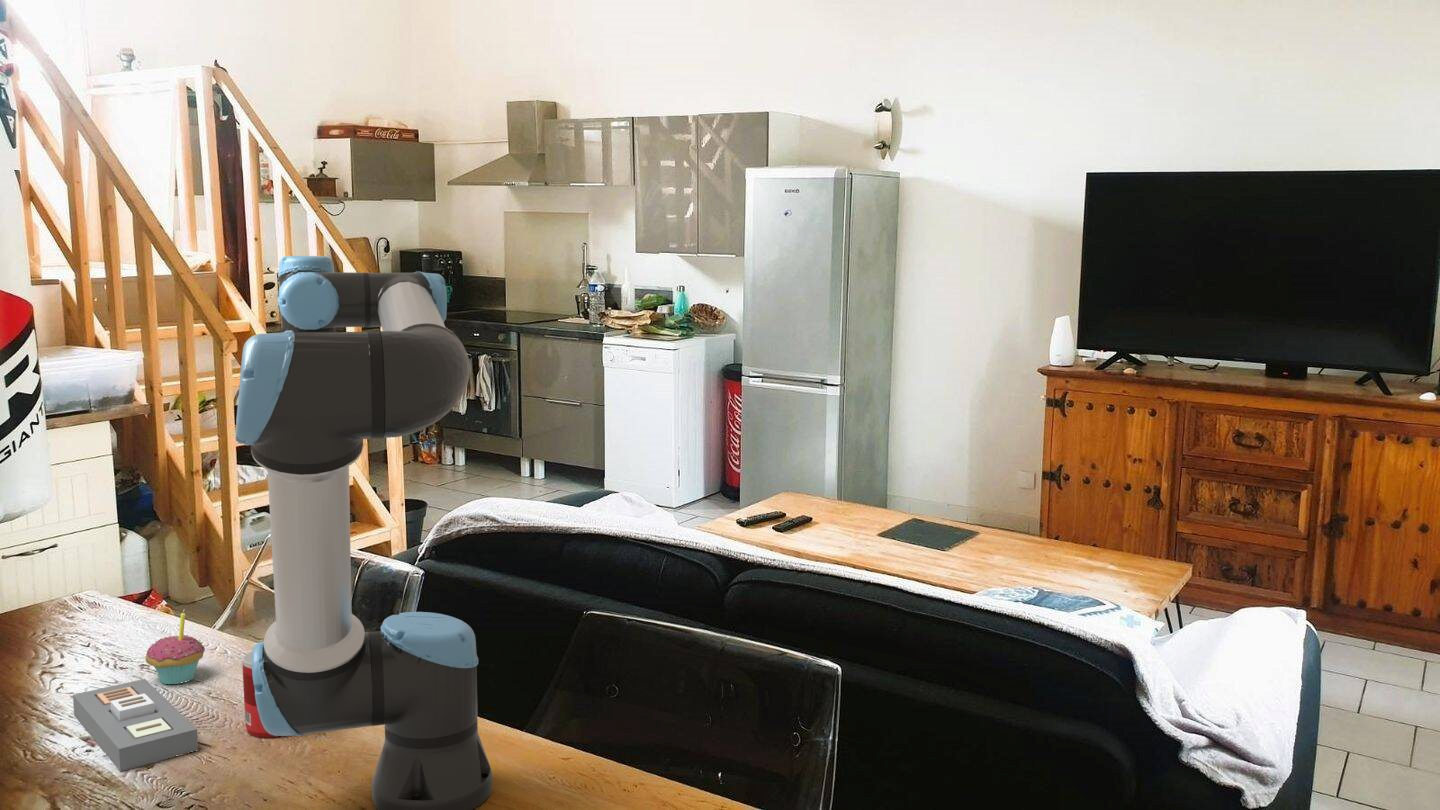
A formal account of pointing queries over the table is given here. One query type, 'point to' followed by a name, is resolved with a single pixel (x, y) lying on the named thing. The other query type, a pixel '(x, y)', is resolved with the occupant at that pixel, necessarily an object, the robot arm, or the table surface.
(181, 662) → the cupcake
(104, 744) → the keypad
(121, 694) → the tile
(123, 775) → the table surface
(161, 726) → the tile
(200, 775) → the table surface
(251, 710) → the canned food
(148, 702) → the tile
